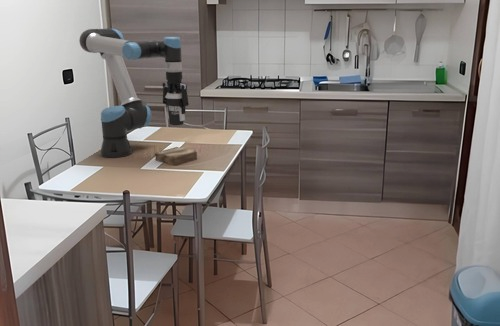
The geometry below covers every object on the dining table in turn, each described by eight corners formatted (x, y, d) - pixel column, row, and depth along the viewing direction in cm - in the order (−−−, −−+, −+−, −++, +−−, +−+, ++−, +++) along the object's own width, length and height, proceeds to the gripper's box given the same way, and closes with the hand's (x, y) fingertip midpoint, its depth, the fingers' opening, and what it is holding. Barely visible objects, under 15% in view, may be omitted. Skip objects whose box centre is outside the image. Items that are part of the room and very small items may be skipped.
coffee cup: (162, 125, 231) (161, 93, 227) (172, 121, 240) (171, 90, 236) (180, 126, 228) (179, 94, 224) (190, 122, 237) (189, 91, 233)
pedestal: (155, 160, 235) (155, 152, 234) (176, 154, 246) (176, 146, 245) (175, 165, 227) (175, 157, 226) (196, 158, 237) (196, 150, 236)
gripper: (152, 70, 230) (155, 118, 236) (184, 73, 218) (186, 123, 225) (164, 69, 236) (166, 116, 242) (195, 71, 224) (197, 120, 231)
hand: (176, 119), depth 234 cm, fingers closed on coffee cup, 7 cm apart
